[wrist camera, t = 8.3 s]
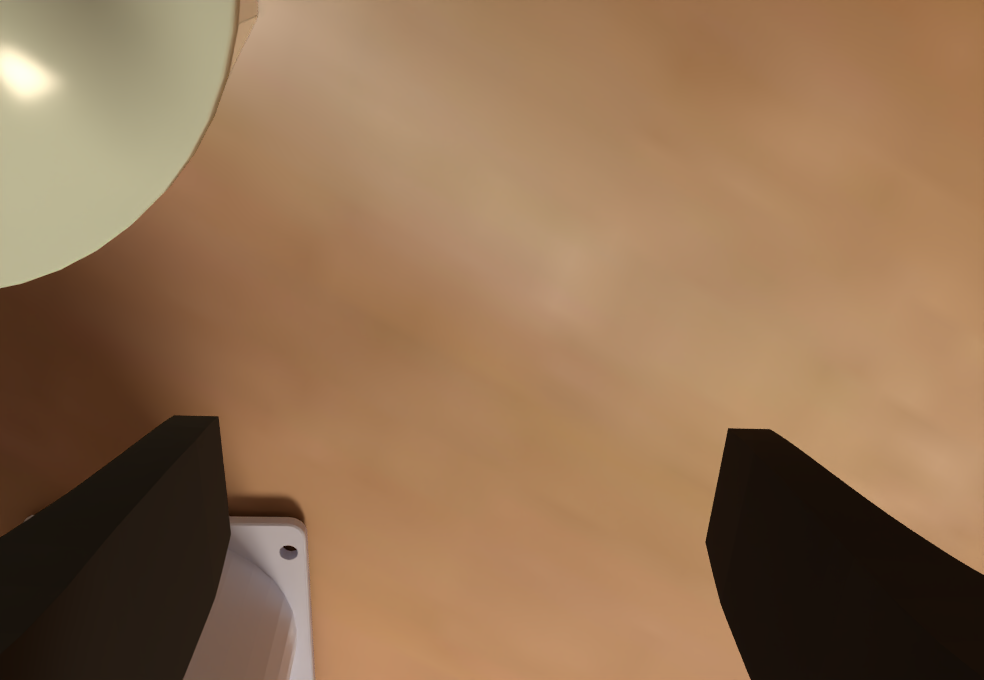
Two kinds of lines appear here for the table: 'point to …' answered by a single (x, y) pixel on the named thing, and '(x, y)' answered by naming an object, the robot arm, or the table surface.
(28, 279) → the lid
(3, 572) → the robot arm
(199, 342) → the table surface
